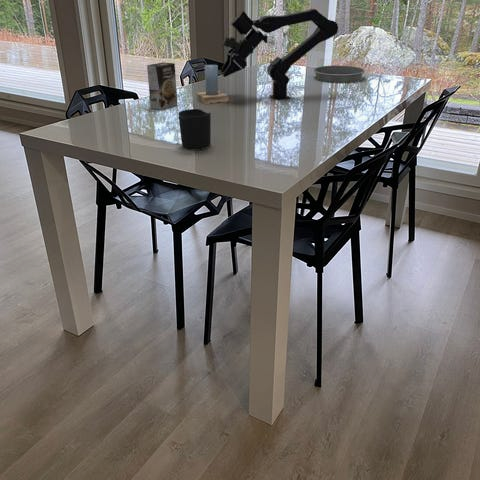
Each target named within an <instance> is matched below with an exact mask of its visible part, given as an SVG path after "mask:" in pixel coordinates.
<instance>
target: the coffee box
mask: <svg viewBox="0 0 480 480" xmlns="http://www.w3.org/2000/svg"><path fill="white" fill-rule="evenodd" d="M146 68H147V69H146V71H147V82H148V93H149V104H150V106H149V107H150V108H151V109H154V110H159V111H164V110H167V109H171V108H175V107H177V106H178V93H177V80H176V79H177V78H176V64H175V63H173V62H164V61H163V62H158V63H152V64H147V65H146Z"/></svg>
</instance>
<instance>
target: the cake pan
mask: <svg viewBox="0 0 480 480" xmlns="http://www.w3.org/2000/svg"><path fill="white" fill-rule="evenodd" d="M313 72H314V73H315V78H316V80H317V79H318V81H321V82H324V83H332V84H333V83H335V84H349V83H357V82H360V81H361V79H362V75H363V74H364V73H365V72H366V70H365V69H364V68H362V67H358V66H353V65H352V66H351V65H338V64H336V65H321V66H317V67H314V69H313Z"/></svg>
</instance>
